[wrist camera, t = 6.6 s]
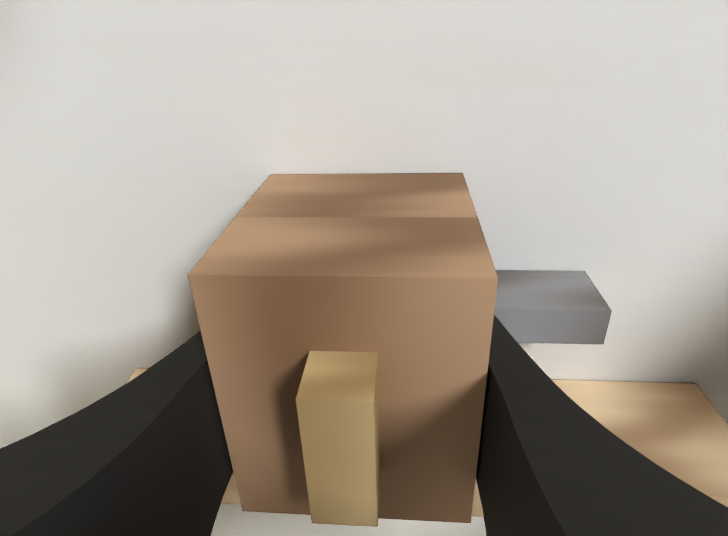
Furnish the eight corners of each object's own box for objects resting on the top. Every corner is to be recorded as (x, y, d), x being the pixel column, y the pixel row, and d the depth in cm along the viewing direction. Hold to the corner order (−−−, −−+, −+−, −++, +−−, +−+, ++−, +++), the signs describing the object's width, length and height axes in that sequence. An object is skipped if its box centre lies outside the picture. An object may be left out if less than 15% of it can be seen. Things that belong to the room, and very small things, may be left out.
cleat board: (738, 272, 13) (859, 369, 10) (685, 412, 15) (766, 531, 12) (104, 267, 15) (8, 349, 11) (145, 395, 17) (77, 496, 13)
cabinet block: (462, 172, 12) (512, 321, 6) (450, 359, 15) (477, 581, 9) (270, 174, 13) (154, 315, 7) (293, 355, 16) (224, 565, 10)
